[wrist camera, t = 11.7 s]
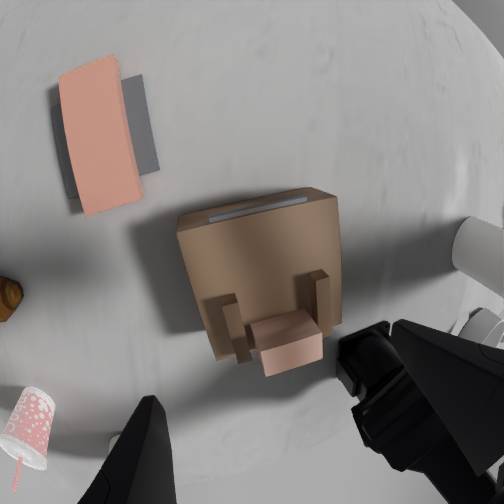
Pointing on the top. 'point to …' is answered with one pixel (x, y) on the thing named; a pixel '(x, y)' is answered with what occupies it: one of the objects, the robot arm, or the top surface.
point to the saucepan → (484, 328)
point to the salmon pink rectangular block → (99, 136)
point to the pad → (137, 129)
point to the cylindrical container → (480, 253)
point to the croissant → (9, 297)
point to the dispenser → (266, 276)
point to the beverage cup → (29, 431)
